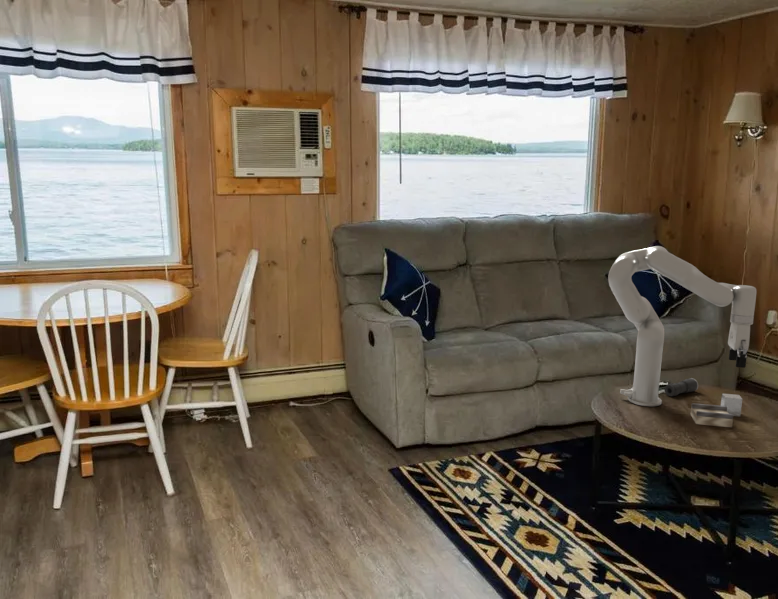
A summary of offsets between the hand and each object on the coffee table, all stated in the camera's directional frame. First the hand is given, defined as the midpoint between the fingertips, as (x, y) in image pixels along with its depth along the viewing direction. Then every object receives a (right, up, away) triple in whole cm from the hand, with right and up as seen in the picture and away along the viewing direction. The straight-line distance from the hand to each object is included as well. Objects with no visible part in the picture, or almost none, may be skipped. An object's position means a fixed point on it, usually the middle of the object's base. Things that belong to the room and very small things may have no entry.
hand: (736, 363), depth 253 cm
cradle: (-11, -21, -4) cm, 24 cm away
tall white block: (0, -19, +4) cm, 20 cm away
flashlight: (-10, -15, +26) cm, 32 cm away
